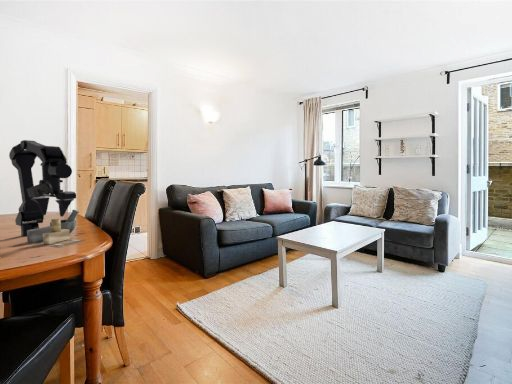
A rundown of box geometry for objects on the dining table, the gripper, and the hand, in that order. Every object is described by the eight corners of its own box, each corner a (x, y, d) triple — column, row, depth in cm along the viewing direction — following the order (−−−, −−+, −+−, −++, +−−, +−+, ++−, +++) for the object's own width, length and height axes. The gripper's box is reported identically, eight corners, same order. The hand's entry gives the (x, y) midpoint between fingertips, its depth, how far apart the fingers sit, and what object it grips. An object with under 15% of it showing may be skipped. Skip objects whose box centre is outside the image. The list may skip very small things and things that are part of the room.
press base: (22, 247, 111) (21, 231, 110) (51, 240, 122) (51, 225, 122) (61, 251, 106) (60, 234, 105) (87, 243, 118) (86, 228, 117)
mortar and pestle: (50, 239, 123) (49, 212, 122) (50, 235, 131) (49, 209, 130) (80, 236, 130) (79, 210, 129) (79, 232, 138) (78, 208, 137)
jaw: (43, 243, 110) (41, 221, 109) (64, 238, 119) (63, 217, 118) (49, 244, 109) (48, 221, 108) (69, 238, 118) (68, 217, 117)
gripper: (12, 177, 108) (14, 217, 109) (50, 179, 103) (52, 220, 105) (41, 176, 119) (42, 213, 120) (76, 177, 114) (77, 216, 115)
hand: (52, 215), depth 115 cm, fingers open, 9 cm apart
